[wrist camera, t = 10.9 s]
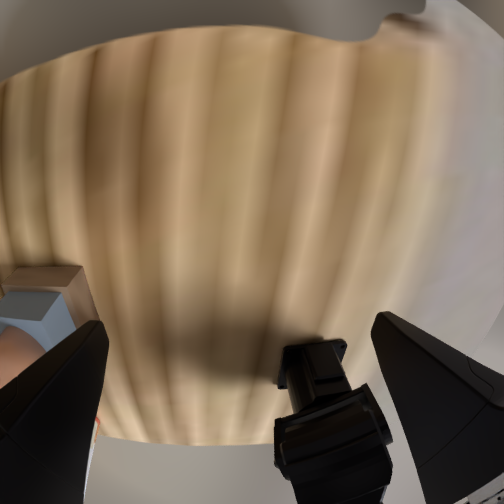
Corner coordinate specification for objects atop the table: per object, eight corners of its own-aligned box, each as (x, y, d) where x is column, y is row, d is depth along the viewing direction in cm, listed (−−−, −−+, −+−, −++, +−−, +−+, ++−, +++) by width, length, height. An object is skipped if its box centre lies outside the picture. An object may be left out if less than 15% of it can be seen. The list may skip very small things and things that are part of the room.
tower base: (108, 337, 23) (98, 363, 20) (46, 331, 23) (33, 353, 20) (84, 264, 20) (66, 286, 17) (20, 265, 19) (0, 284, 16)
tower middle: (88, 354, 20) (76, 384, 17) (36, 348, 19) (22, 373, 16) (61, 292, 17) (41, 321, 14) (8, 291, 16) (-13, 315, 13)
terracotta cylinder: (61, 376, 16) (42, 426, 12) (21, 369, 16) (0, 411, 11) (33, 328, 14) (3, 379, 10) (-7, 323, 14) (-36, 366, 9)
